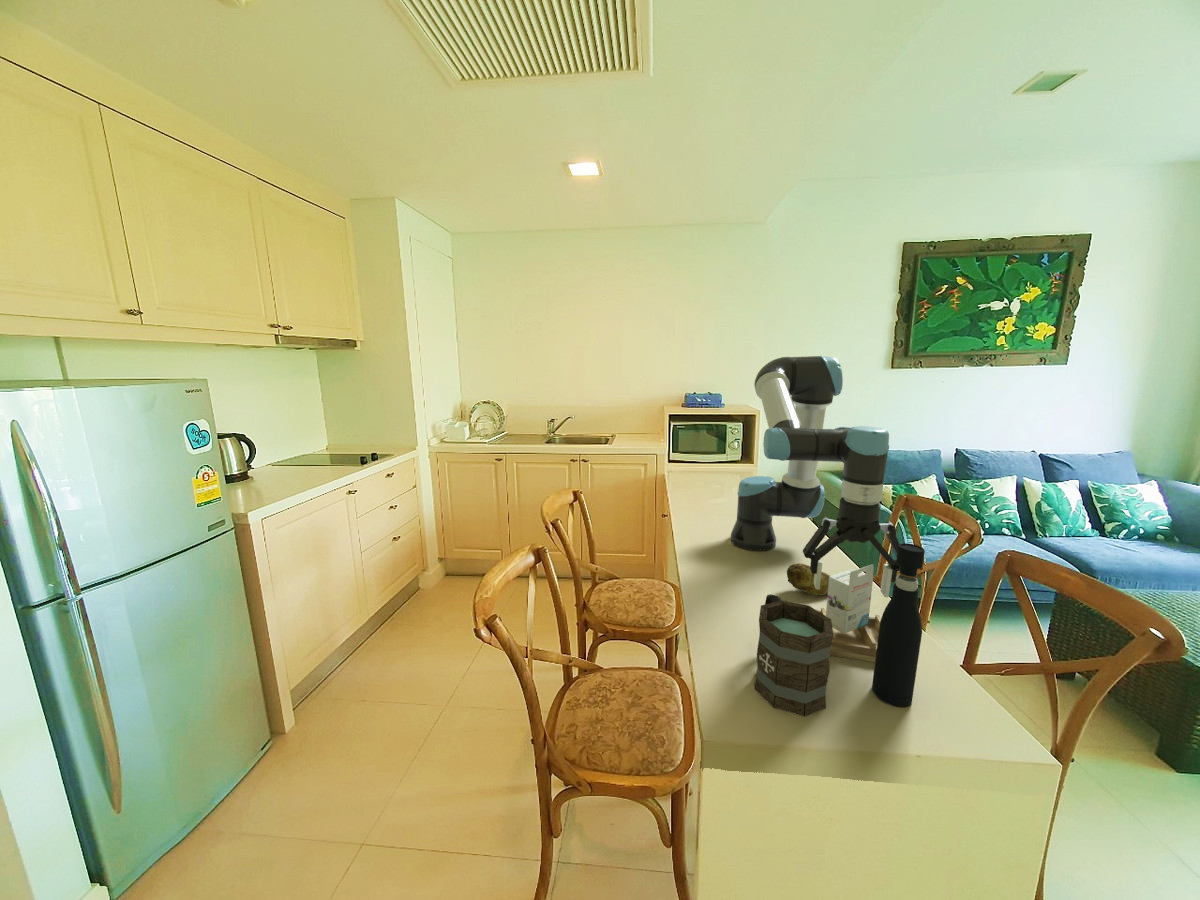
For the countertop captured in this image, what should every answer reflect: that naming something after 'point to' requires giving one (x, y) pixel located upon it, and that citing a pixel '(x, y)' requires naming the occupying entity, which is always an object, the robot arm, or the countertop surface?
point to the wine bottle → (900, 633)
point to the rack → (856, 641)
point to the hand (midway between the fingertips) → (849, 590)
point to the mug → (793, 656)
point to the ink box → (850, 598)
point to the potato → (807, 579)
